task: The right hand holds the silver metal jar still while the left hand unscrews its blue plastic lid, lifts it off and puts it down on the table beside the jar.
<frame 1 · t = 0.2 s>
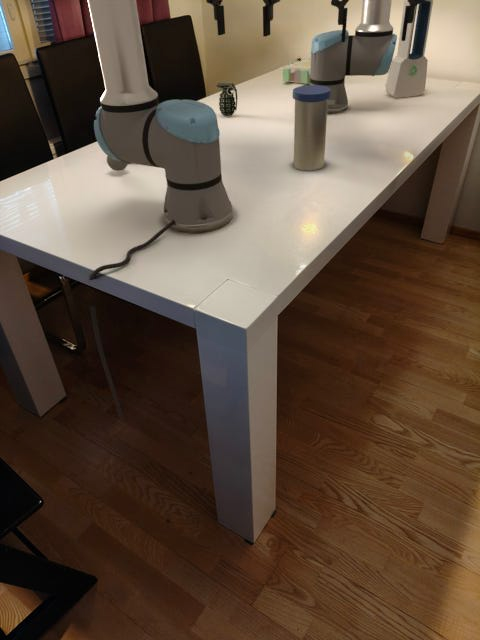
left hand: (243, 35, 129), 28 cm above the table, tool pointing down, fingers open, 13 cm apart
right hand: (372, 40, 114), 28 cm above the table, tool pointing down, fingers open, 13 cm apart
grenade: (228, 115, 169), on the table
lid: (311, 91, 118), point 18 cm above the table, screwed on, not yet turned
jar: (308, 164, 129), on the table
decorative block: (310, 79, 207), on the table
electronic device: (403, 95, 180), on the table
molecular model: (142, 156, 140), on the table
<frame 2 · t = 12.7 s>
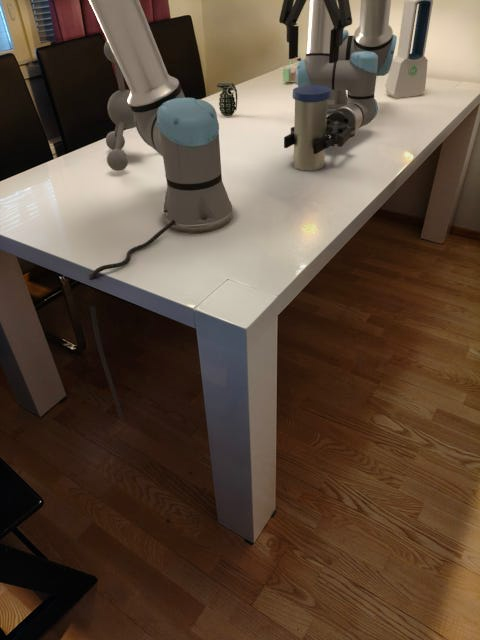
left hand: (312, 60, 114), 25 cm above the table, tool pointing down, fingers open, 10 cm apart
right hand: (299, 145, 122), 7 cm above the table, tool horizontal, fingers closed on jar, 8 cm apart
jar: (308, 164, 129), on the table, touching right hand
everything else where it was.
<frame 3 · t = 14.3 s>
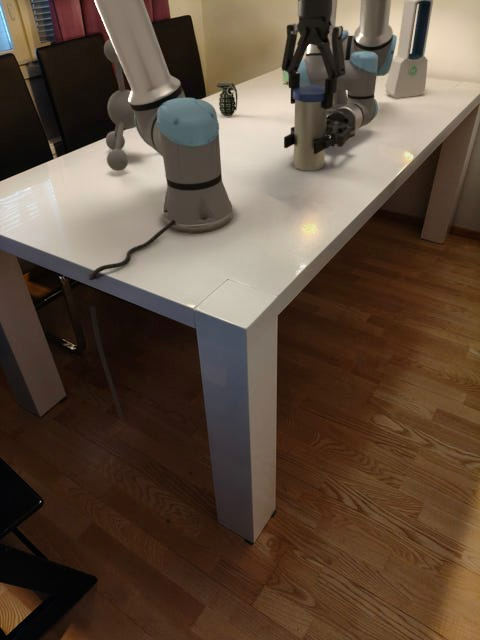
left hand: (311, 105, 120), 15 cm above the table, tool pointing down, fingers closed on lid, 9 cm apart
right hand: (299, 145, 122), 6 cm above the table, tool horizontal, fingers closed on jar, 8 cm apart
lid: (311, 91, 118), point 18 cm above the table, screwed on, not yet turned, touching left hand
jar: (308, 164, 129), on the table, touching right hand
everything else where it was.
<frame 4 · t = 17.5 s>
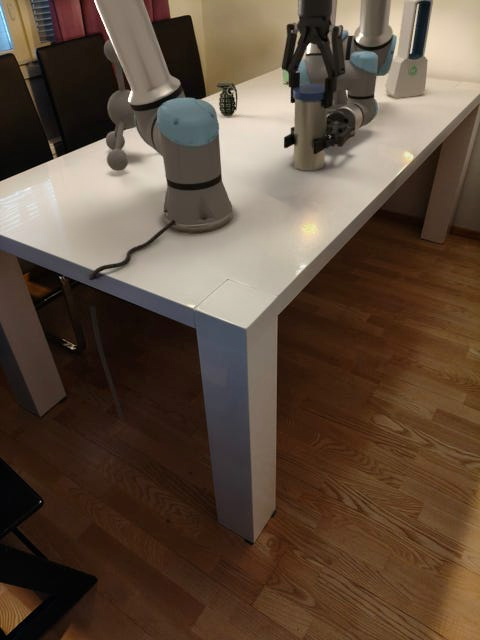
left hand: (311, 104, 120), 15 cm above the table, tool pointing down, fingers closed on lid, 9 cm apart
right hand: (299, 145, 122), 6 cm above the table, tool horizontal, fingers closed on jar, 8 cm apart
lid: (311, 90, 118), point 18 cm above the table, turned 115° so far, risen 0.2 cm, still on its thread, touching left hand
jar: (308, 164, 129), on the table, touching right hand
everything else where it was.
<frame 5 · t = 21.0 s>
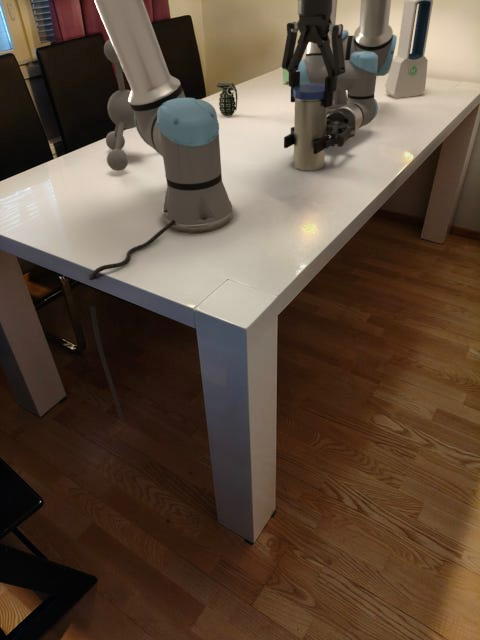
left hand: (311, 103, 120), 15 cm above the table, tool pointing down, fingers closed on lid, 9 cm apart
right hand: (299, 145, 122), 6 cm above the table, tool horizontal, fingers closed on jar, 8 cm apart
lid: (311, 89, 118), point 19 cm above the table, turned 230° so far, risen 0.4 cm, still on its thread, touching left hand
jar: (308, 164, 129), on the table, touching right hand
everything else where it was.
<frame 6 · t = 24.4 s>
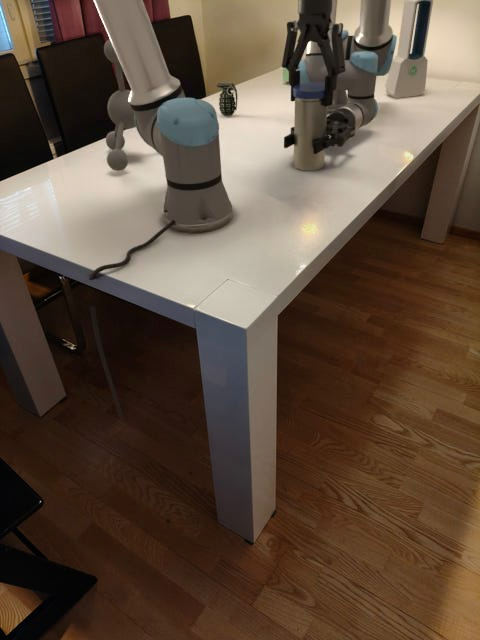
left hand: (311, 102, 120), 16 cm above the table, tool pointing down, fingers closed on lid, 9 cm apart
right hand: (299, 145, 122), 6 cm above the table, tool horizontal, fingers closed on jar, 8 cm apart
lid: (311, 88, 118), point 19 cm above the table, turned 346° so far, risen 0.6 cm, still on its thread, touching left hand
jar: (308, 164, 129), on the table, touching right hand
everything else where it was.
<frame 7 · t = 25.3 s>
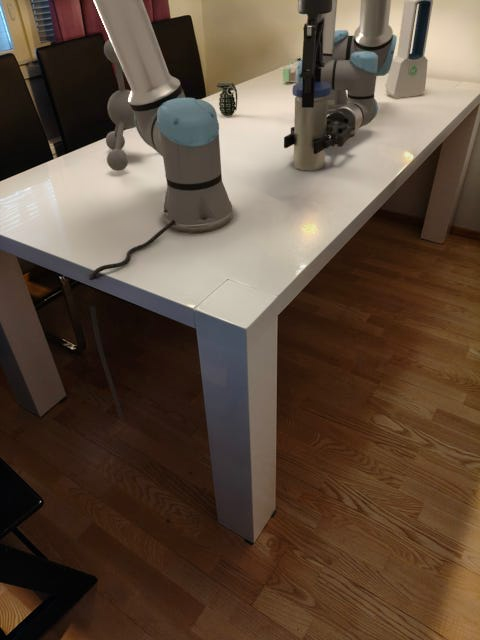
left hand: (311, 101, 119), 16 cm above the table, tool pointing down, fingers closed on lid, 9 cm apart
right hand: (299, 145, 122), 6 cm above the table, tool horizontal, fingers closed on jar, 8 cm apart
lid: (311, 87, 117), point 19 cm above the table, off its thread, touching left hand
jar: (308, 164, 129), on the table, touching right hand
everything else where it was.
when the left hand's fingers open (0 cm above the table, at t = 30.5 s): lid drops 2 cm, point 1 cm above the table.
when the right hand's fingers open (7 cm above the table, at t = 32.2 s): jar stays where it is, on the table.
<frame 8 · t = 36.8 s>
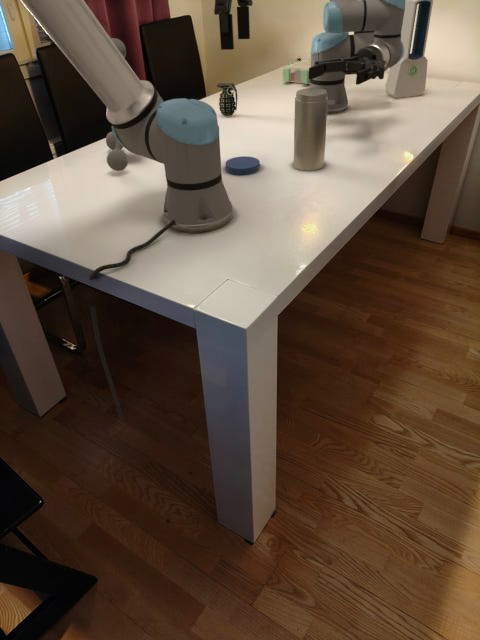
left hand: (236, 44, 111), 29 cm above the table, tool pointing down, fingers open, 13 cm apart
right hand: (333, 76, 123), 20 cm above the table, tool horizontal, fingers open, 13 cm apart
lid: (242, 163, 129), point 1 cm above the table, off its thread
jar: (308, 164, 129), on the table
everything else where it was.
at the end: lid came off its thread; lid point 1.3 cm above the table; the left hand is holding nothing; the right hand is holding nothing; jar tilted 0°; jar moved 0.0 cm from its start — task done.
